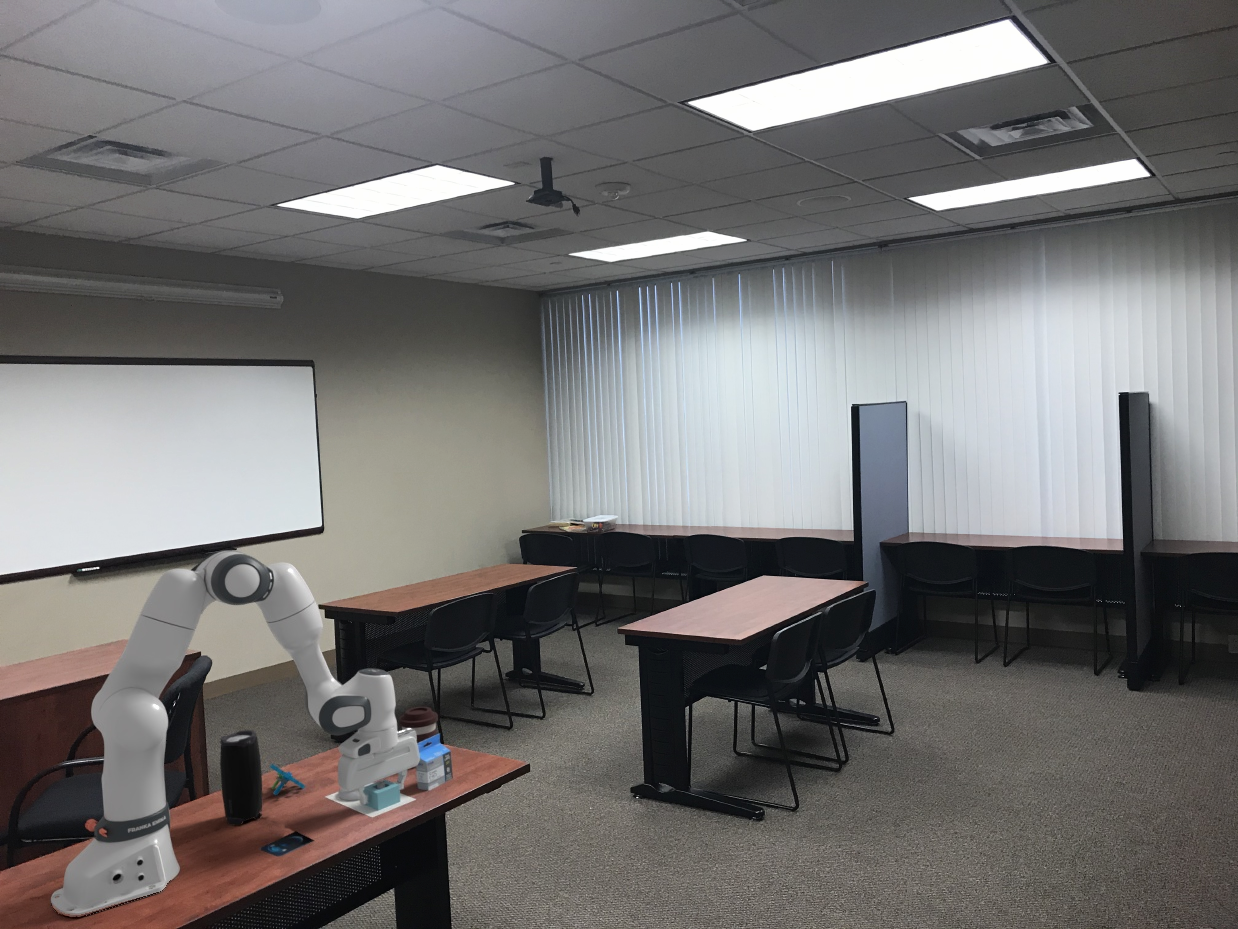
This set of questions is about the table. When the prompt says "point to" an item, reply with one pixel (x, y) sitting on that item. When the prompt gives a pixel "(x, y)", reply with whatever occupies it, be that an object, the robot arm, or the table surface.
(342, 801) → the stand board
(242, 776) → the portable speaker
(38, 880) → the table surface
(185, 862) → the table surface
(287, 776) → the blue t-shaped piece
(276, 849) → the smartphone
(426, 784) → the label tape box
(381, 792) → the teal box with opening
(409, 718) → the coffee cup
